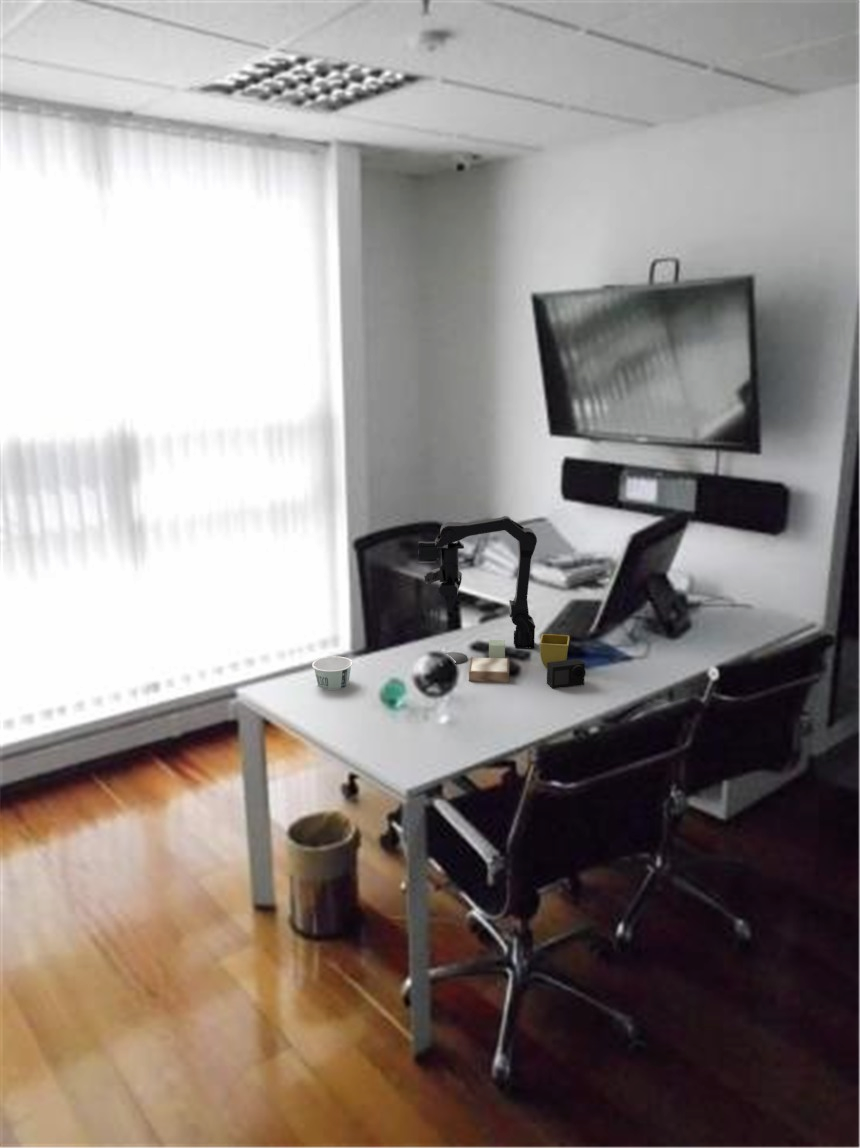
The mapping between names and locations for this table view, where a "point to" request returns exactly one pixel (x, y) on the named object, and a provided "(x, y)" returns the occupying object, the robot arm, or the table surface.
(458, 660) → the coaster
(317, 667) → the food container
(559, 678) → the digital camera
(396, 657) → the table surface
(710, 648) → the table surface
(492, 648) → the block
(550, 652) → the flower pot
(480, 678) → the plinth
